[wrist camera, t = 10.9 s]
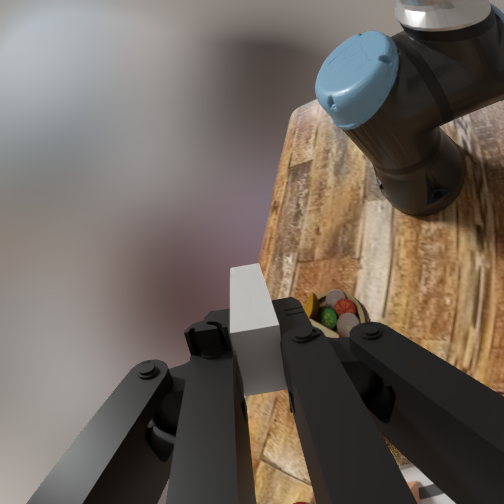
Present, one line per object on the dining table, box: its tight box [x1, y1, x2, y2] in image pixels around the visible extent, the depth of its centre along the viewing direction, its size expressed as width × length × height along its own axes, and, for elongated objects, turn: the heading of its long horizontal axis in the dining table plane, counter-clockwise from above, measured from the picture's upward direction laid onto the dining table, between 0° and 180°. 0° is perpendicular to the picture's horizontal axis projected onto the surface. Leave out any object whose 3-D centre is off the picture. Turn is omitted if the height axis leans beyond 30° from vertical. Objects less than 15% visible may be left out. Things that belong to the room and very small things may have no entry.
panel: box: [398, 463, 456, 504], centre depth 16 cm, size 26×12×4 cm, turn 103°
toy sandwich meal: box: [304, 289, 366, 338], centre depth 39 cm, size 12×14×5 cm
